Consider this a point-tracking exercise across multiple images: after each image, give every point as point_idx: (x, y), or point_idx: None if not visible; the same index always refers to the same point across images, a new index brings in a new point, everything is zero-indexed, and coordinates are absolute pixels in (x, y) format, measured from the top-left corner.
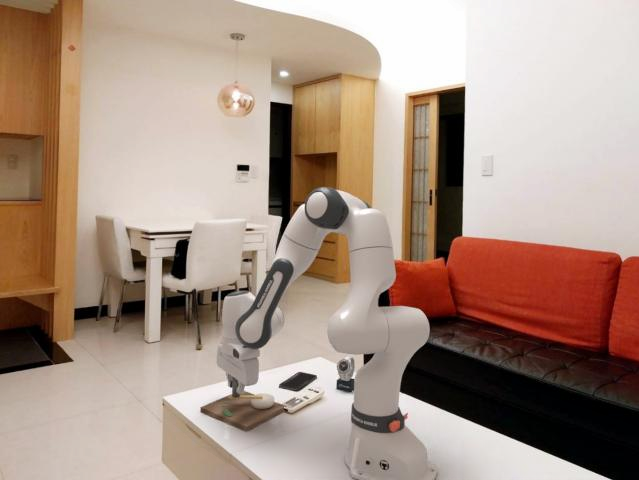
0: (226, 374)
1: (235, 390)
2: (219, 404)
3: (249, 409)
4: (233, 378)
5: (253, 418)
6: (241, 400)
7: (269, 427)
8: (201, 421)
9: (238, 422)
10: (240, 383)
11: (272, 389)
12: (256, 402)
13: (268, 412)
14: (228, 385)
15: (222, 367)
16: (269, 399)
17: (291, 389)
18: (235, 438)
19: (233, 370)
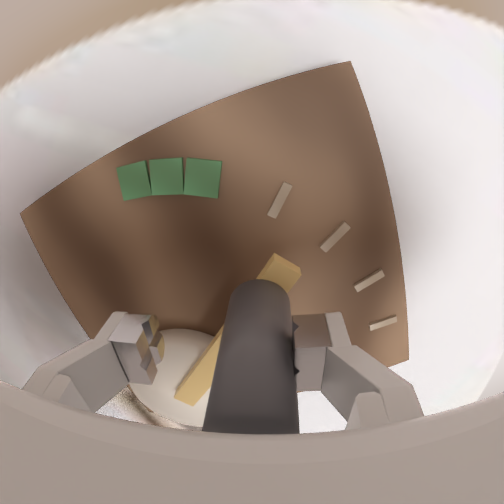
0: (394, 392)
1: (225, 326)
2: (324, 185)
3: (165, 304)
4: (231, 409)
5: (70, 273)
6: None
7: (49, 295)
8: (216, 29)
9: (52, 194)
10: (32, 376)
11: None
12: None
13: None
14: (324, 316)
15: (489, 429)
16: (159, 403)
17: None
18: (10, 148)
19: (44, 496)
